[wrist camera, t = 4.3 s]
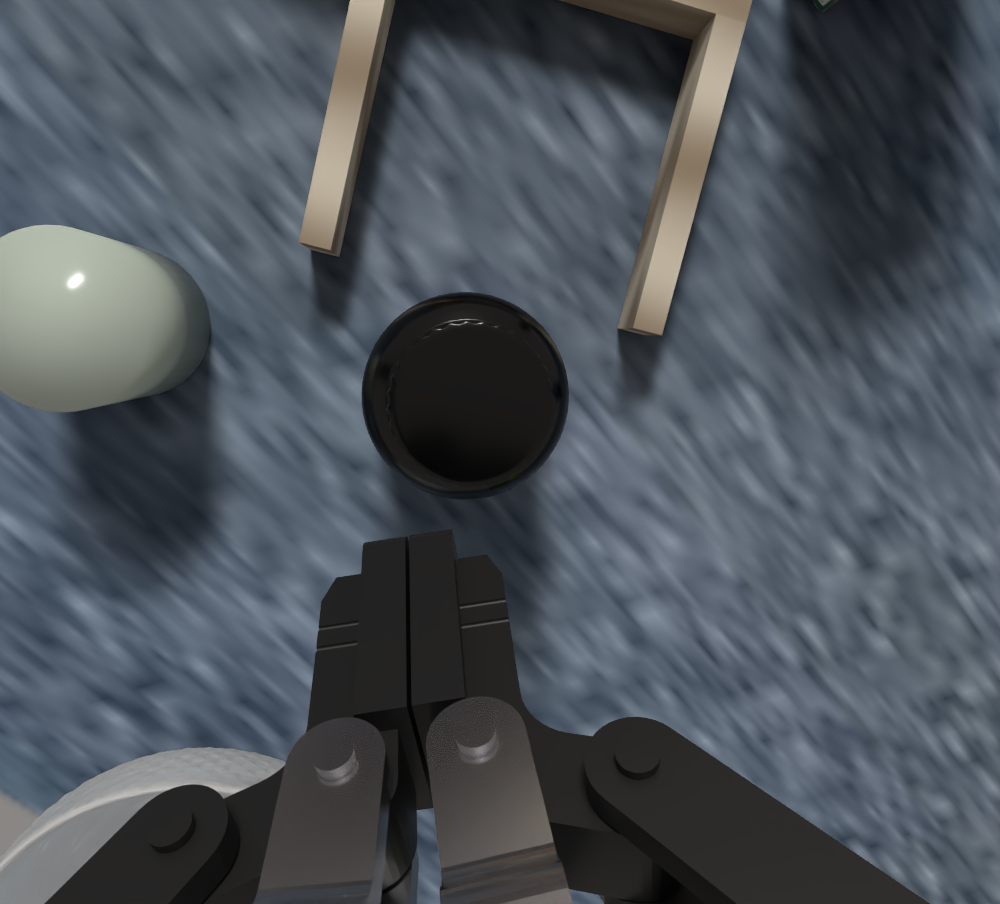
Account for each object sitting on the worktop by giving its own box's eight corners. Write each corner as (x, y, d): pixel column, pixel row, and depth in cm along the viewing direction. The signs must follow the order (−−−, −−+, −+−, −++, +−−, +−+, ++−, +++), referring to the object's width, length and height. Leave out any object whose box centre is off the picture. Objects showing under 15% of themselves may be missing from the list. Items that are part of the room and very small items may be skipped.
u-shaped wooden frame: (644, 335, 35) (662, 335, 32) (310, 249, 33) (298, 241, 31) (728, 18, 33) (755, -10, 31) (382, -87, 32) (376, -127, 29)
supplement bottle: (552, 445, 35) (610, 502, 24) (397, 478, 35) (376, 551, 23) (522, 287, 34) (566, 263, 22) (362, 319, 34) (321, 311, 22)
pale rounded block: (116, 423, 34) (34, 446, 27) (28, 297, 33) (-81, 287, 26) (239, 347, 34) (188, 351, 27) (154, 219, 33) (79, 188, 26)
